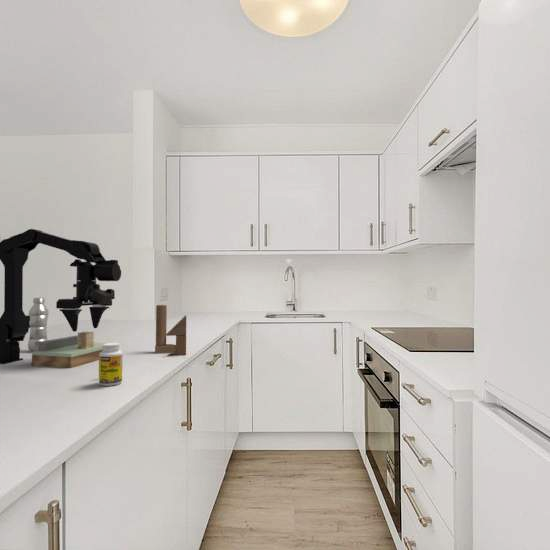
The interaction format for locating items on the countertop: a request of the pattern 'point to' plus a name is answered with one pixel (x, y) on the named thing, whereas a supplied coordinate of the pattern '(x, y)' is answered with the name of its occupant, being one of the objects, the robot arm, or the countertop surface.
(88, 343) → the pin
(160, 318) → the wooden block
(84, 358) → the brown wooden slab
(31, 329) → the plastic bottle
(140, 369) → the countertop surface
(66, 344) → the lid
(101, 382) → the supplement bottle
